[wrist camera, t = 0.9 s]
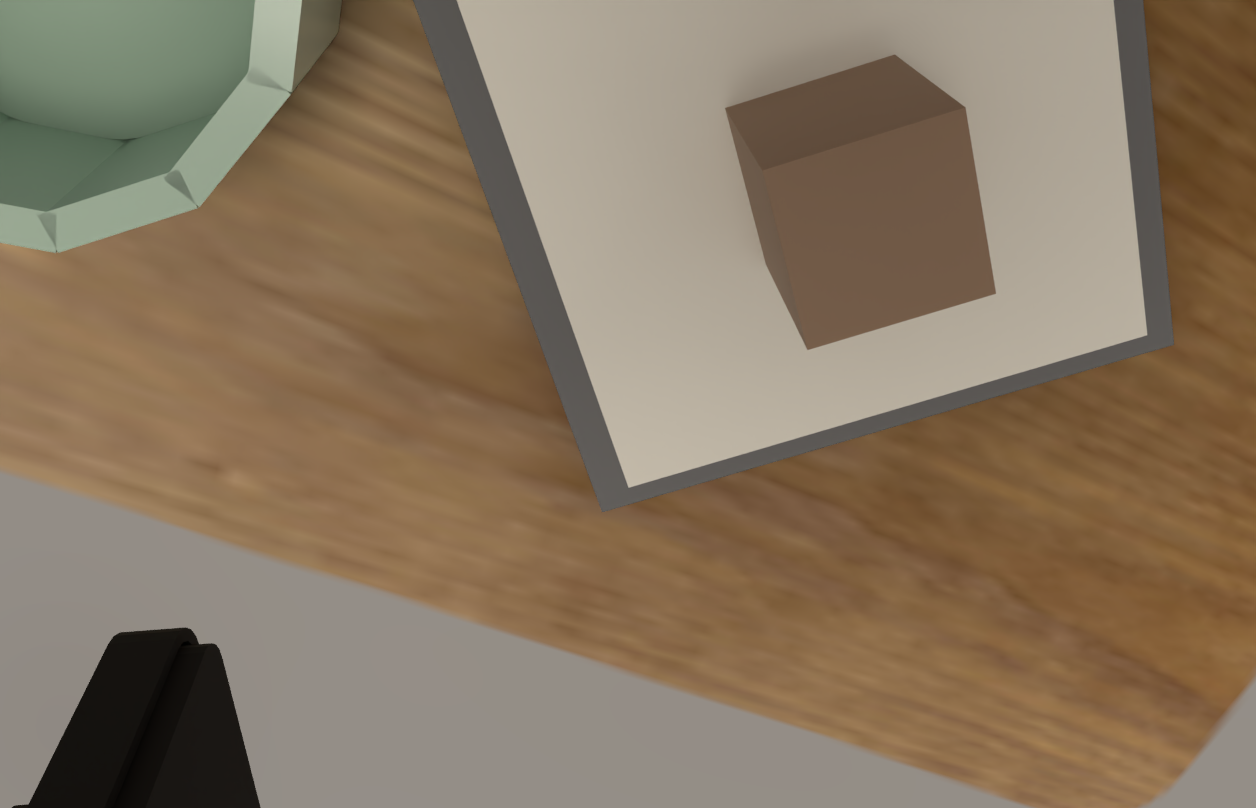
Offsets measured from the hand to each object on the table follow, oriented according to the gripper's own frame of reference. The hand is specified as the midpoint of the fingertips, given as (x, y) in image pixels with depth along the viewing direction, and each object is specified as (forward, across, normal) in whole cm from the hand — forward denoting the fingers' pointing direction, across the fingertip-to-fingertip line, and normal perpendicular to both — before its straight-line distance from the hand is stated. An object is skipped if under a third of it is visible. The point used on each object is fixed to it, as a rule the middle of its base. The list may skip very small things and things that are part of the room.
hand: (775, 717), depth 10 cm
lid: (+20, -5, +1) cm, 21 cm away
